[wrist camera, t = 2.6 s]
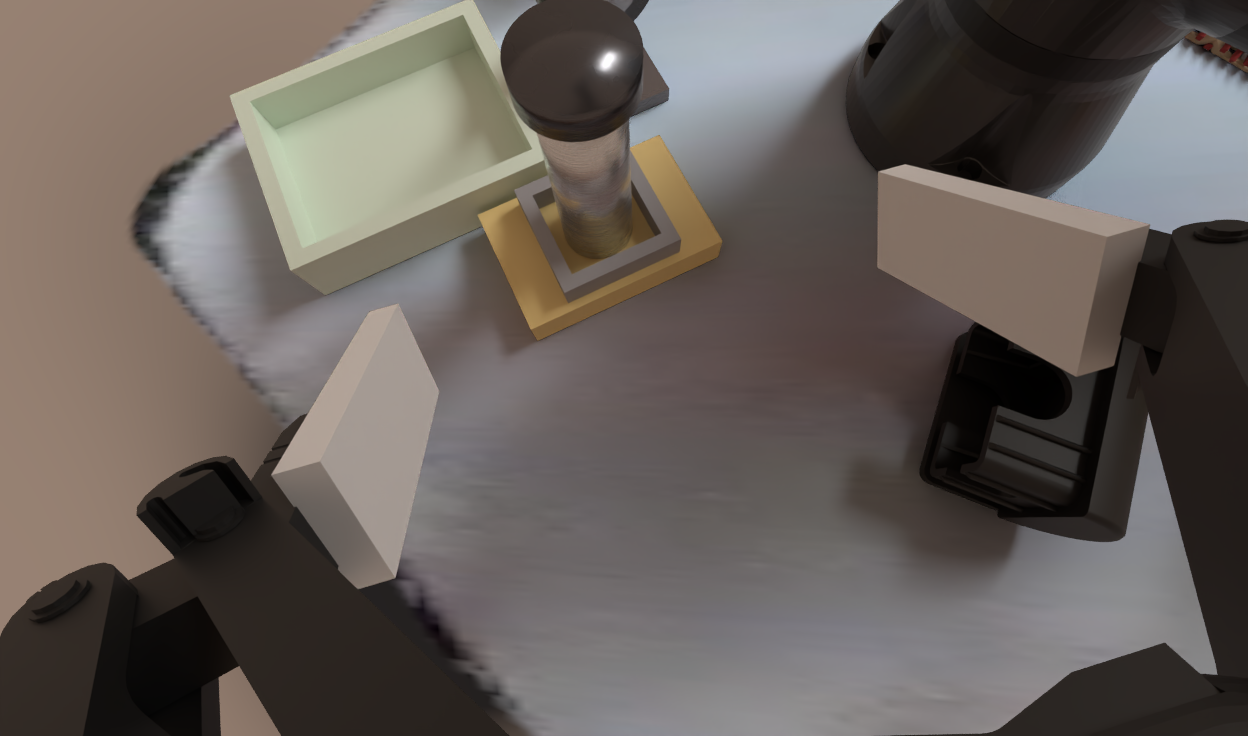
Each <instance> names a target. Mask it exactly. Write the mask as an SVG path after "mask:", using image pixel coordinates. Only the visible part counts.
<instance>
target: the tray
mask: <svg viewBox="0 0 1248 736" xmlns="http://www.w3.org/2000/svg"><path fill="white" fill-rule="evenodd" d="M500 54H501V52H500V50H499V48H498V46H497V44H496V42H495V41H494V39H493V37H492V35H491V33H490V31H489V29H488V27H487V25H486V23H485V22H484V20H483V18H482V16H481V14H480V12H479V10H478V8H477V6H476V5H475V3H474V1H473V0H465V1H462V2H460V3H458V4H455V5H453V6H450V7H448V8H445V9H443V10H440V11H438V12H435V13H433V14H430V15H428V16H425V17H423V18H420V19H418V20H415V21H413V22H410V23H408V24H406V25H403V26H401V27H398V28H396V29H393V30H391V31H388V32H386V33H383V34H381V35H378V36H376V37H373V38H371V39H368V40H366V41H363V42H361V43H358V44H356V45H354V46H351V47H349V48H346V49H344V50H341V51H339V52H336V53H334V54H331V55H329V56H326V57H324V58H321V59H319V60H316V61H314V62H311V63H309V64H306V65H304V66H301V67H299V68H297V69H294V70H292V71H289V72H287V73H284V74H282V75H279V76H277V77H274V78H272V79H269V80H267V81H264V82H262V83H260V84H257V85H254V86H252V87H250V88H247V89H245V90H242V91H240V92H237V93H235V94H232V95H230V99H231V101H232V104H233V107H234V110H235V113H236V116H237V119H238V122H239V124H240V127H241V130H242V133H243V136H244V139H245V142H246V145H247V148H248V150H249V153H250V156H251V159H252V162H253V165H254V168H255V171H256V173H257V176H258V179H259V182H260V185H261V188H262V191H263V194H264V196H265V199H266V202H267V205H268V208H269V211H270V214H271V217H272V219H273V222H274V225H275V228H276V231H277V234H278V237H279V240H280V242H281V245H282V248H283V251H284V254H285V257H286V260H287V263H288V265H289V268H290V271H291V272H293V273H294V274H296V275H297V276H299V277H300V278H301V279H303V280H304V281H306V282H307V283H308V284H310V285H311V286H313V287H314V288H316V289H317V290H318V291H320V292H321V293H323V294H324V295H328V294H330V293H332V292H334V291H337V290H339V289H341V288H343V287H346V286H348V285H350V284H352V283H355V282H357V281H359V280H362V279H364V278H366V277H368V276H371V275H373V274H375V273H377V272H380V271H382V270H384V269H386V268H389V267H391V266H393V265H395V264H398V263H400V262H402V261H404V260H407V259H409V258H411V257H414V256H416V255H418V254H420V253H423V252H425V251H427V250H429V249H432V248H434V247H436V246H438V245H441V244H443V243H445V242H447V241H450V240H452V239H454V238H456V237H459V236H461V235H463V234H466V233H468V232H470V231H472V230H475V229H477V228H479V227H481V226H482V224H481V221H480V219H479V217H478V214H481V213H483V212H485V211H488V210H490V209H492V208H494V207H497V206H499V205H501V204H503V203H506V202H508V201H510V200H513V199H515V198H517V197H516V194H515V192H514V190H515V189H517V188H520V187H522V186H524V185H526V184H529V183H531V182H533V181H536V180H538V179H540V178H542V177H545V176H547V175H548V173H547V169H546V166H545V162H544V158H543V155H542V151H541V147H540V144H539V140H538V136H537V133H536V132H535V131H533V130H532V129H530V128H529V127H528V126H527V125H526V124H525V123H524V122H523V121H522V120H521V119H520V117H519V116H518V114H517V113H516V111H515V109H514V106H513V104H512V100H511V97H510V94H509V91H508V88H507V84H506V81H505V78H504V75H503V71H502V67H501V60H500Z"/></svg>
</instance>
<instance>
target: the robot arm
mask: <svg viewBox="0 0 1248 736" xmlns="http://www.w3.org/2000/svg"><path fill="white" fill-rule="evenodd" d="M1194 29H1196V30H1199V31H1201V32H1203V33H1205V34H1207V35H1209V36H1211V37H1214V38H1216V39H1218V40H1221V41H1223V42H1225V43H1227V44H1229V45H1231V46H1233V47H1235V48H1237V49H1239V50H1242V51H1243V52H1244V53H1247V54H1248V0H900V1H899V2H898V3H897V4H896V5H895V6H894V7H893V8H892V9H891V10H890V11H889V12H888V13H887V14H886V15H885V16H884V17H883V18H882V20H881V21H880V22H879V23H878V24H877V26H876V27H875V28H874V29H873V31H872V32H871V34H870V35H869V37H868V39H867V40H866V42H865V44H864V46H863V48H862V50H861V52H860V55H859V57H858V59H857V61H856V63H855V65H854V67H853V70H852V72H851V75H850V78H849V81H848V86H847V92H846V110H847V116H848V121H849V125H850V128H851V131H852V133H853V136H854V138H855V140H856V142H857V144H858V146H859V147H860V149H861V151H862V152H863V154H864V155H865V156H866V158H867V159H868V160H869V162H870V163H871V164H872V165H873V166H874V167H875V168H876V169H877V170H878V171H879V172H878V253H877V268H879V269H881V270H883V271H884V272H886V273H888V274H890V275H892V276H894V277H895V278H897V279H899V280H901V281H903V282H905V283H906V284H908V285H910V286H912V287H914V288H915V289H917V290H919V291H921V292H923V293H925V294H926V295H928V296H930V297H932V298H934V299H935V300H937V301H939V302H941V303H943V304H945V305H946V306H948V307H950V308H952V309H954V310H955V311H957V312H959V313H961V314H963V315H965V316H966V317H968V318H970V319H972V320H974V321H975V322H977V323H979V324H981V325H983V326H985V327H986V328H988V329H990V330H992V331H994V332H995V333H997V334H999V335H1001V336H1003V337H1005V338H1006V339H1008V340H1010V341H1012V342H1014V343H1015V344H1017V345H1019V346H1021V347H1023V348H1025V349H1026V350H1028V351H1030V352H1032V353H1034V354H1035V355H1037V356H1039V357H1041V358H1043V359H1045V360H1046V361H1048V362H1050V363H1052V364H1054V365H1055V366H1057V367H1059V368H1061V369H1063V370H1065V371H1066V372H1068V373H1070V374H1072V375H1074V376H1075V377H1078V376H1081V375H1084V374H1088V373H1091V372H1095V371H1098V370H1101V369H1105V368H1108V367H1111V366H1114V363H1115V359H1116V355H1117V352H1118V348H1119V344H1120V340H1121V336H1123V337H1126V338H1128V339H1130V340H1132V341H1135V342H1137V343H1139V344H1141V346H1140V350H1139V354H1138V357H1137V361H1136V364H1135V368H1134V371H1133V375H1132V379H1131V382H1130V386H1129V389H1128V393H1127V397H1126V398H1127V399H1134V398H1135V395H1136V393H1137V392H1139V391H1141V390H1143V394H1144V397H1145V401H1146V405H1147V409H1148V412H1149V416H1150V420H1151V424H1152V427H1153V431H1154V435H1155V439H1156V442H1157V446H1158V450H1159V454H1160V457H1161V461H1162V465H1163V469H1164V472H1165V476H1166V480H1167V484H1168V487H1169V491H1170V495H1171V499H1172V502H1173V506H1174V510H1175V514H1176V517H1177V521H1178V525H1179V529H1180V532H1181V536H1182V540H1183V544H1184V547H1185V551H1186V555H1187V558H1188V562H1189V566H1190V570H1191V573H1192V577H1193V581H1194V585H1195V588H1196V592H1197V596H1198V600H1199V603H1200V607H1201V611H1202V615H1203V618H1204V622H1205V626H1206V630H1207V633H1208V637H1209V641H1210V645H1211V648H1212V652H1213V656H1214V660H1215V663H1216V669H1217V674H1218V675H1210V674H1200V673H1198V672H1197V671H1196V670H1195V669H1194V668H1193V667H1192V666H1190V665H1189V664H1188V663H1187V662H1186V661H1185V660H1184V659H1183V658H1181V657H1180V656H1179V655H1178V654H1177V653H1176V652H1175V651H1174V650H1172V649H1171V648H1170V647H1169V646H1168V645H1167V644H1166V643H1162V644H1159V645H1156V646H1153V647H1150V648H1147V649H1143V650H1140V651H1137V652H1134V653H1131V654H1128V655H1125V656H1121V657H1118V658H1115V659H1112V660H1109V661H1106V662H1103V663H1099V664H1096V665H1093V666H1090V667H1087V668H1084V669H1081V670H1077V671H1074V672H1071V673H1070V674H1069V675H1067V676H1066V677H1065V678H1064V679H1062V680H1061V681H1060V682H1059V683H1057V684H1056V685H1055V686H1054V687H1052V688H1051V689H1050V690H1048V691H1047V692H1046V693H1045V694H1043V695H1042V696H1041V697H1040V698H1038V699H1037V700H1036V701H1034V702H1033V703H1032V704H1031V705H1029V706H1028V707H1027V708H1026V709H1024V710H1023V711H1022V712H1021V713H1019V714H1018V715H1017V716H1015V717H1014V718H1013V719H1012V720H1010V721H1009V722H1008V723H1007V724H1005V725H1004V726H1003V727H1001V728H1000V729H998V730H996V731H993V732H990V733H983V734H943V735H892V736H1248V222H1245V221H1240V220H1215V221H1211V222H1200V223H1193V224H1189V225H1185V226H1181V227H1179V228H1177V229H1175V230H1173V232H1172V234H1168V233H1164V232H1160V231H1156V230H1152V229H1149V227H1150V224H1146V223H1142V222H1138V221H1134V220H1130V219H1126V218H1121V217H1117V216H1113V215H1109V214H1105V213H1101V212H1097V211H1093V210H1089V209H1085V208H1081V207H1077V206H1073V205H1069V204H1065V203H1060V202H1056V201H1052V200H1048V199H1044V198H1046V197H1048V196H1049V195H1051V194H1052V193H1054V192H1055V191H1056V190H1058V189H1059V188H1060V187H1062V186H1063V185H1064V184H1065V183H1066V182H1068V181H1069V180H1070V179H1071V178H1073V177H1074V176H1075V175H1076V174H1078V173H1079V172H1080V171H1081V170H1083V169H1084V168H1085V167H1086V166H1087V165H1088V164H1089V163H1090V162H1091V161H1092V160H1093V159H1094V157H1095V156H1096V155H1097V154H1098V153H1099V152H1100V150H1101V149H1102V148H1103V146H1104V145H1105V143H1106V142H1107V140H1108V138H1109V137H1110V135H1111V134H1112V132H1113V130H1114V129H1115V127H1116V125H1117V124H1118V122H1119V120H1120V119H1121V117H1122V116H1123V114H1124V112H1125V111H1126V109H1127V107H1128V106H1129V104H1130V103H1131V101H1132V99H1133V98H1134V96H1135V94H1136V93H1137V91H1138V89H1139V88H1140V86H1141V85H1142V83H1143V81H1144V80H1145V78H1146V76H1147V75H1148V73H1149V71H1150V70H1151V68H1152V67H1153V65H1154V64H1155V63H1156V62H1157V61H1158V60H1159V59H1160V58H1161V57H1163V56H1164V55H1165V54H1166V53H1167V52H1168V51H1169V50H1170V49H1172V48H1173V47H1174V46H1175V45H1176V44H1177V43H1178V42H1179V41H1180V40H1182V39H1183V38H1184V37H1185V36H1186V35H1187V34H1189V33H1190V32H1191V31H1193V30H1194ZM438 394H439V390H438V388H437V385H436V383H435V381H434V379H433V377H432V375H431V373H430V370H429V368H428V366H427V364H426V362H425V360H424V358H423V355H422V353H421V351H420V349H419V347H418V345H417V343H416V340H415V338H414V336H413V334H412V332H411V330H410V328H409V325H408V323H407V321H406V319H405V317H404V315H403V313H402V310H401V308H400V306H399V304H395V305H391V306H388V307H384V308H380V309H377V310H373V311H370V312H369V313H368V314H367V316H366V318H365V319H364V321H363V323H362V324H361V326H360V328H359V329H358V331H357V333H356V334H355V336H354V338H353V339H352V341H351V343H350V344H349V346H348V348H347V349H346V351H345V353H344V354H343V356H342V358H341V359H340V361H339V363H338V364H337V366H336V368H335V369H334V371H333V373H332V374H331V376H330V378H329V379H328V381H327V383H326V384H325V386H324V388H323V389H322V391H321V393H320V394H319V396H318V398H317V399H316V401H315V403H314V404H313V406H312V408H311V409H310V411H309V413H308V414H305V415H302V416H300V417H299V418H298V419H296V420H295V421H294V422H293V423H292V424H291V425H290V426H289V427H287V428H286V429H285V430H284V431H283V432H282V433H281V435H280V436H279V438H278V440H277V441H276V443H275V444H274V446H273V447H272V451H270V452H269V453H268V455H267V457H266V458H265V460H264V461H263V462H264V464H263V465H261V466H260V468H259V469H258V471H257V472H256V474H255V475H254V477H253V478H252V480H251V481H250V480H249V478H248V477H247V475H246V474H245V473H244V471H243V470H242V469H241V468H240V466H239V465H238V463H237V462H236V461H235V459H234V458H230V457H227V456H221V457H213V458H210V459H207V460H204V461H201V462H198V463H195V464H193V465H191V466H189V467H187V468H185V469H183V470H181V471H179V472H177V473H175V474H174V475H172V476H171V477H169V478H167V479H166V480H164V481H163V482H161V483H160V484H158V485H157V486H156V487H155V488H154V489H153V490H151V491H150V492H149V493H148V494H147V495H146V496H145V497H144V498H143V500H142V501H141V503H140V504H139V505H138V507H137V516H138V517H139V518H140V520H141V521H142V522H143V523H144V524H145V525H146V526H147V527H148V528H149V529H150V531H151V532H152V533H153V534H154V535H155V536H156V537H157V538H158V539H159V540H160V541H161V542H162V544H163V545H164V546H165V547H166V548H167V549H168V550H169V551H170V552H171V553H172V554H173V556H174V559H172V560H170V561H168V562H166V563H164V564H162V565H160V566H158V567H156V568H153V569H151V570H150V571H147V572H145V573H143V574H141V575H139V576H137V577H135V578H133V579H130V580H127V578H126V577H125V576H124V575H123V574H122V573H120V572H119V571H118V570H117V569H116V568H115V567H114V566H113V565H111V564H107V563H99V564H95V565H90V566H87V567H84V568H82V569H79V570H77V571H75V572H72V573H70V574H68V575H66V576H65V577H63V578H61V579H59V580H58V581H57V580H56V581H53V582H51V583H49V584H48V585H46V586H45V587H43V588H42V589H41V590H42V591H41V592H36V593H35V594H34V595H33V596H31V597H30V598H29V599H28V600H27V601H26V603H25V605H23V606H22V607H21V608H20V609H19V610H18V611H17V612H16V613H15V614H14V615H13V616H12V617H11V619H10V620H9V622H8V623H7V625H6V626H5V628H4V629H3V631H2V633H1V636H0V736H221V730H220V729H221V728H220V704H219V680H218V677H220V676H222V675H223V674H225V673H227V672H229V671H231V670H232V669H234V668H236V667H238V666H240V668H241V669H242V671H243V673H244V674H245V676H246V678H247V679H248V681H249V683H250V684H251V686H252V688H253V689H254V691H255V693H256V694H257V696H258V698H259V699H260V701H261V703H262V704H263V706H264V708H265V709H266V711H267V713H268V714H269V716H270V717H271V719H272V721H273V723H274V724H275V726H276V728H277V729H278V731H279V733H280V734H281V736H509V735H508V734H507V733H506V732H505V731H504V730H502V728H501V727H500V726H499V725H498V724H497V723H495V721H493V720H492V719H491V718H490V717H489V716H488V715H487V714H486V713H485V712H484V711H483V710H482V709H481V708H480V707H479V706H478V705H477V704H476V703H475V702H474V701H473V700H472V699H471V698H470V697H468V695H467V694H466V693H465V692H464V691H462V690H461V689H460V688H459V687H458V686H457V685H456V684H455V683H454V682H453V681H452V680H451V679H450V678H449V677H448V676H447V675H445V673H444V672H443V671H442V670H441V669H440V668H439V667H438V666H437V665H436V664H434V663H433V662H432V661H431V660H430V659H429V658H428V657H427V656H426V655H425V654H424V653H423V652H422V651H421V650H420V649H419V648H418V647H417V646H416V645H415V644H414V643H413V642H412V641H411V640H410V639H409V638H408V637H406V635H405V634H404V633H403V632H401V631H400V630H399V629H398V628H397V627H396V626H395V625H394V624H393V623H392V622H391V621H390V620H389V619H388V618H387V617H386V616H385V615H384V614H383V613H382V612H381V611H380V610H379V609H378V608H376V606H375V605H374V604H373V603H371V602H370V601H369V600H368V599H367V598H366V597H365V596H364V595H363V594H362V593H361V592H360V591H359V590H358V589H360V588H363V587H367V586H370V585H374V584H377V583H380V582H384V581H387V580H391V579H394V578H395V577H396V573H397V569H398V565H399V560H400V556H401V552H402V548H403V543H404V539H405V535H406V531H407V526H408V522H409V518H410V514H411V509H412V505H413V501H414V497H415V492H416V488H417V484H418V480H419V475H420V471H421V467H422V463H423V458H424V454H425V450H426V446H427V441H428V437H429V433H430V428H431V424H432V420H433V416H434V411H435V407H436V403H437V399H438ZM337 569H338V570H339V571H340V572H341V573H340V572H339V571H338V570H337Z"/></svg>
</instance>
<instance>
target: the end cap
mask: <svg viewBox="0 0 1248 736" xmlns="http://www.w3.org/2000/svg"><path fill="white" fill-rule="evenodd" d="M1140 346H1141V344H1139V343H1137V342H1135V341H1132V340H1130V339H1128V338H1126V337H1123V336H1121V340H1120V344H1119V348H1118V352H1117V355H1116V359H1115V363H1114V366H1111V367H1108V368H1105V369H1101V370H1098V371H1095V372H1091V373H1088V374H1084V375H1081V376H1078V377H1075V376H1074V375H1072V374H1070V373H1068V372H1066V371H1065V370H1063V369H1061V368H1059V367H1057V366H1055V365H1054V364H1052V363H1050V362H1048V361H1046V360H1045V359H1043V358H1041V357H1039V356H1037V355H1035V354H1034V353H1032V352H1030V351H1028V350H1026V349H1025V348H1023V347H1021V346H1019V345H1017V344H1015V343H1014V342H1012V341H1010V340H1008V339H1006V338H1005V337H1003V336H1001V335H999V334H997V333H995V332H994V331H992V330H990V329H988V328H986V327H985V326H983V325H981V324H979V323H977V322H974V324H973V325H972V326H971V328H970V329H969V331H968V332H966V333H964V334H962V335H960V336H959V337H958V338H957V340H956V343H955V346H954V350H953V353H952V357H951V360H950V364H949V367H948V371H947V375H946V378H945V382H944V385H943V389H942V392H941V396H940V399H939V403H938V406H937V410H936V414H935V417H934V421H933V424H932V428H931V431H930V435H929V438H928V442H927V445H926V449H925V452H924V456H923V460H922V463H921V467H920V476H921V478H922V479H923V480H924V481H925V482H927V483H928V484H931V485H933V486H936V487H938V488H941V489H943V490H946V491H948V492H951V493H953V494H956V495H958V496H961V497H964V498H966V499H969V500H971V501H974V502H976V503H979V504H981V505H984V506H986V507H989V508H992V509H995V510H998V517H1000V518H1002V519H1005V520H1008V521H1010V522H1013V523H1016V524H1019V525H1022V526H1026V527H1029V528H1032V529H1036V530H1039V531H1043V532H1047V533H1051V534H1055V535H1059V536H1064V537H1069V538H1074V539H1080V540H1086V541H1096V542H1112V541H1118V540H1120V539H1122V538H1123V537H1124V536H1125V534H1126V529H1127V524H1128V518H1129V513H1130V507H1131V502H1132V497H1133V491H1134V486H1135V481H1136V475H1137V470H1138V465H1139V459H1140V454H1141V449H1142V443H1143V438H1144V432H1145V427H1146V422H1147V416H1148V409H1147V405H1146V401H1145V397H1144V394H1143V390H1141V391H1139V392H1137V393H1136V395H1135V398H1134V399H1127V398H1126V397H1127V393H1128V389H1129V386H1130V382H1131V379H1132V375H1133V371H1134V368H1135V364H1136V361H1137V357H1138V354H1139V350H1140Z"/></svg>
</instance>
